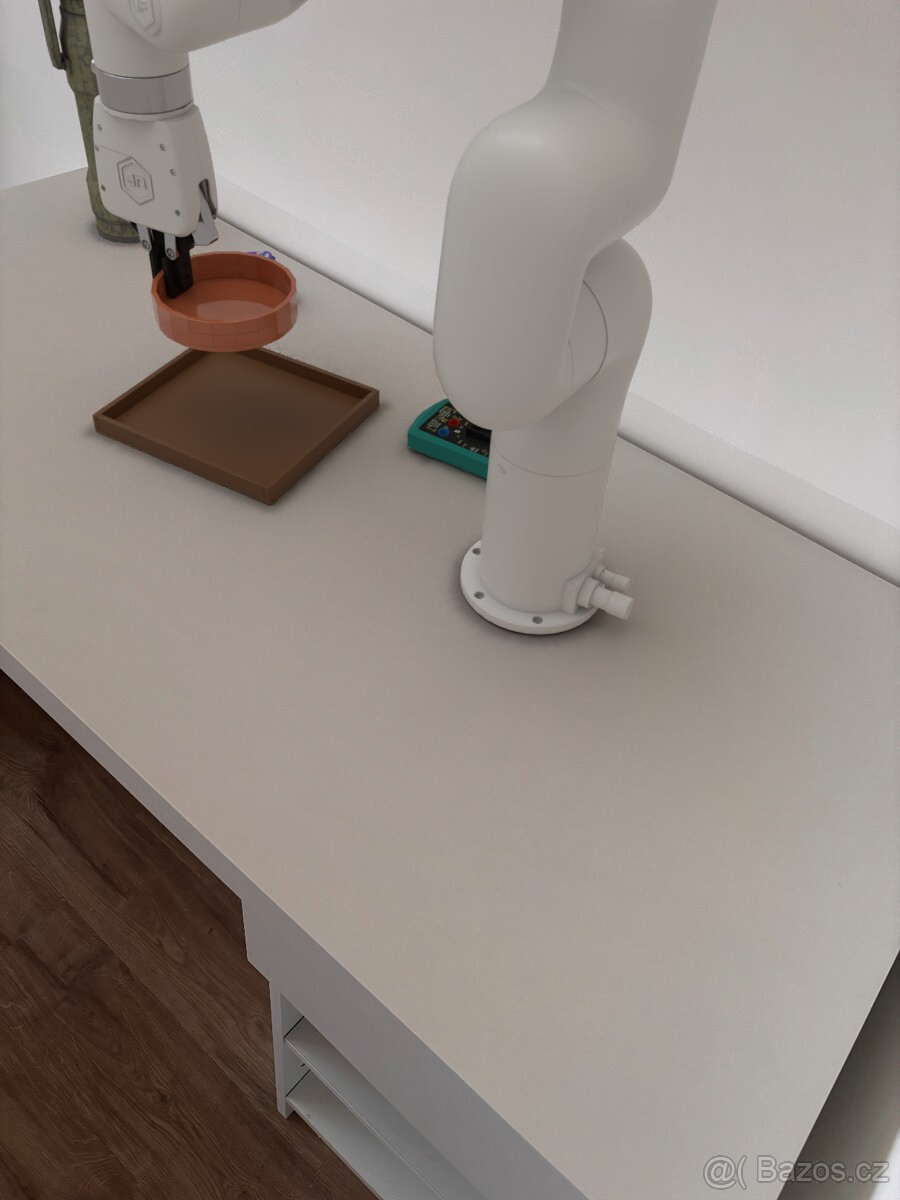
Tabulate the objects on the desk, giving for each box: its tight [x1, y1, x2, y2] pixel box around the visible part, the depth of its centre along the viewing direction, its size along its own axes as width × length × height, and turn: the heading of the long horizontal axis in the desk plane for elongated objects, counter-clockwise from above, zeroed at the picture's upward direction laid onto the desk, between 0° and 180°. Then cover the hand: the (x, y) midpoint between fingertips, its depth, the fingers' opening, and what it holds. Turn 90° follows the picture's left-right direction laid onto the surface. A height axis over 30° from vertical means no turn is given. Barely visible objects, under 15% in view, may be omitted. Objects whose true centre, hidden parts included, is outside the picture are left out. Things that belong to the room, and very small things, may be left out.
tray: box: [92, 346, 380, 506], centre depth 107 cm, size 21×19×2 cm
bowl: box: [150, 250, 299, 352], centre depth 98 cm, size 13×13×3 cm
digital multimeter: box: [406, 398, 492, 481], centre depth 104 cm, size 7×15×3 cm, turn 59°
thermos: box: [37, 0, 141, 244], centre depth 124 cm, size 9×12×35 cm
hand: (174, 288), depth 100 cm, fingers closed on bowl, 1 cm apart
